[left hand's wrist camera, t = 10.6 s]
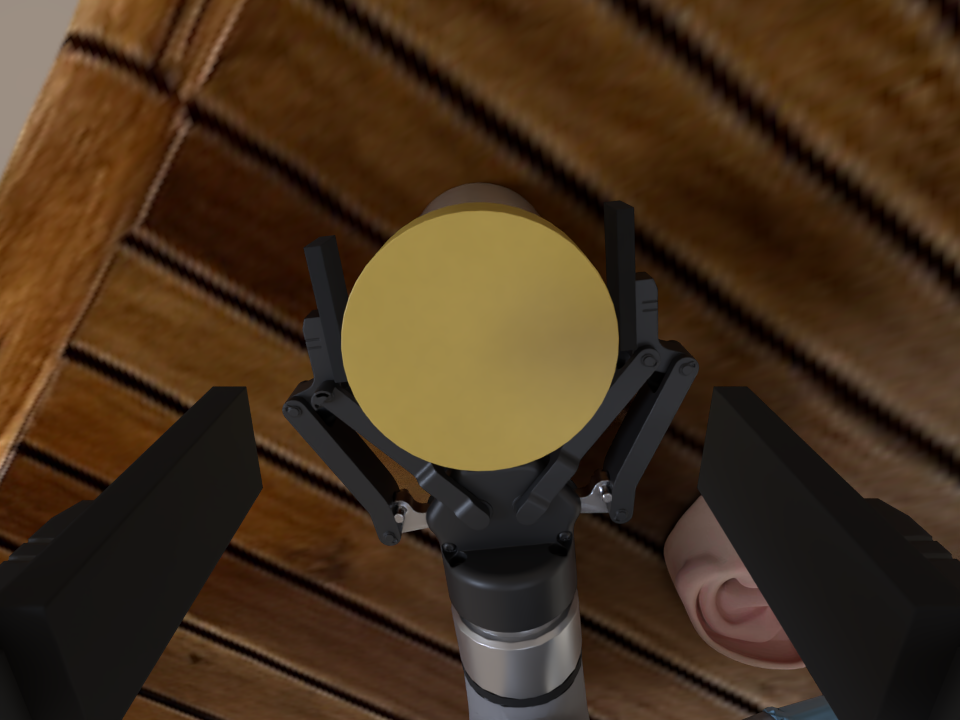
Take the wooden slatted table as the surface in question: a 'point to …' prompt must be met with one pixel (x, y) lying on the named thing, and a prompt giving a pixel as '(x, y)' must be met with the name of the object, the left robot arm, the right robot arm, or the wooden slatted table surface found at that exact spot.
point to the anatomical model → (724, 594)
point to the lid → (480, 337)
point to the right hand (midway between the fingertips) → (467, 222)
